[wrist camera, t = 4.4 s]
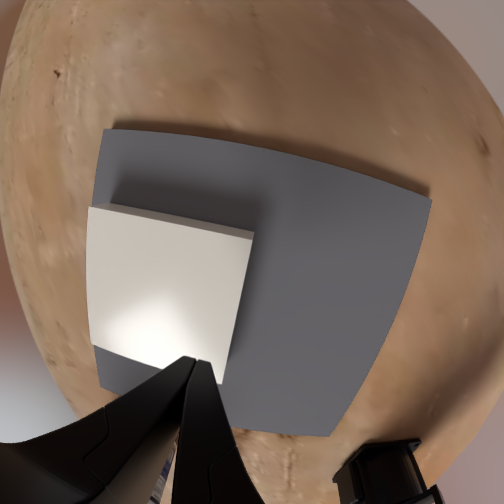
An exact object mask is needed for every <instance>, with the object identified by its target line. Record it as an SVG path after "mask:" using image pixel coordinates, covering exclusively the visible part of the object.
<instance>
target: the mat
mask: <svg viewBox="0 0 504 504" xmlns="http://www.w3.org/2000/svg"><path fill="white" fill-rule="evenodd" d="M104 203H112V204H118V205H123V206H129V207H134V208H139V209H144V210H149V211H155V212H160V213H165V214H170V215H175V216H180V217H185V218H190V219H195V220H200V221H204V222H209V223H214V224H219V225H224V226H228V227H233V228H238V229H243V230H247V231H252V232H254V237H253V241H252V246H251V250H250V255H249V260H248V264H247V269H246V274H245V278H244V283H243V287H242V292H241V297H240V301H239V306H238V311H237V315H236V320H235V325H234V329H233V334H232V339H231V343H230V348H229V352H228V357H227V362H226V366H225V371H224V376H223V380H222V384H218V383H217V385H218V389H219V392H220V395H221V399H222V402H223V405H224V408H225V412H226V415H227V418H228V421H229V424H230V426H231V427H236V428H242V429H248V430H255V431H262V432H270V433H279V434H290V435H303V436H327V437H329V436H330V435H331V433H332V432H333V430H334V429H335V428H336V426H337V425H338V423H339V421H340V420H341V418H342V417H343V415H344V414H345V412H346V411H347V409H348V407H349V406H350V404H351V402H352V401H353V399H354V397H355V396H356V394H357V392H358V391H359V389H360V387H361V385H362V384H363V382H364V380H365V378H366V376H367V375H368V373H369V371H370V369H371V367H372V365H373V363H374V361H375V359H376V357H377V355H378V353H379V351H380V349H381V347H382V345H383V343H384V341H385V339H386V336H387V334H388V332H389V330H390V328H391V325H392V323H393V321H394V318H395V316H396V314H397V311H398V309H399V306H400V304H401V301H402V299H403V296H404V294H405V291H406V288H407V285H408V283H409V280H410V277H411V274H412V271H413V268H414V265H415V262H416V259H417V256H418V253H419V249H420V246H421V243H422V239H423V236H424V232H425V228H426V224H427V220H428V216H429V212H430V208H431V204H432V199H430V198H427V197H425V196H422V195H420V194H417V193H415V192H412V191H409V190H407V189H404V188H401V187H399V186H396V185H393V184H390V183H388V182H385V181H382V180H379V179H376V178H373V177H370V176H367V175H364V174H361V173H358V172H354V171H351V170H348V169H345V168H341V167H338V166H334V165H331V164H327V163H324V162H320V161H316V160H312V159H309V158H305V157H301V156H297V155H293V154H288V153H284V152H280V151H275V150H271V149H266V148H261V147H256V146H251V145H246V144H240V143H235V142H229V141H223V140H217V139H210V138H204V137H196V136H189V135H181V134H172V133H162V132H151V131H138V130H122V129H104V131H103V136H102V141H101V146H100V151H99V157H98V163H97V169H96V176H95V184H94V192H93V201H92V206H94V205H99V204H104ZM94 349H95V357H96V364H97V370H98V376H99V381H100V387H102V388H104V389H107V390H109V391H111V392H114V393H116V394H119V395H123V394H125V393H126V392H128V391H129V390H131V389H133V388H134V387H136V386H137V385H139V384H140V383H142V382H144V381H145V380H147V379H148V378H150V377H151V376H153V375H154V374H156V373H157V372H159V371H161V370H162V369H160V368H157V367H154V366H151V365H148V364H145V363H142V362H139V361H136V360H133V359H130V358H127V357H124V356H122V355H119V354H116V353H114V352H111V351H108V350H106V349H103V348H101V347H98V346H96V345H94Z"/></svg>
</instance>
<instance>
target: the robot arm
mask: <svg viewBox="0 0 504 504" xmlns="http://www.w3.org/2000/svg"><path fill="white" fill-rule="evenodd" d="M178 433H179V438H178V445H177V453H176V462H175V470H174V479H173V489H172V499H171V504H265V503H264V501H263V500H262V498H261V496H260V495H259V493H258V491H257V490H256V488H255V486H254V484H253V482H252V481H251V479H250V477H249V475H248V473H247V471H246V468H245V466H244V463H243V461H242V459H241V456H240V453H239V450H238V448H237V447H236V442H235V439H234V436H233V433H232V430H231V427H230V424H229V421H228V418H227V415H226V412H225V408H224V405H223V402H222V399H221V395H220V392H219V389H218V385H217V382H216V378H215V375H214V371H213V368H212V364H211V362H209V361H205V360H201V359H198V360H196V358H193V357H189V356H185V355H184V356H182V357H180V358H179V359H177V360H176V361H174V362H173V363H171V364H170V365H168V366H167V367H165V368H164V369H162V370H161V371H159V372H157V373H156V374H154V375H153V376H151V377H150V378H148V379H147V380H145V381H144V382H142V383H140V384H139V385H137V386H136V387H134V388H133V389H131V390H129V391H128V392H126V393H125V394H123V395H121V396H120V397H118V398H117V399H115V400H113V401H112V402H110V403H108V404H107V405H105V406H104V407H102V408H100V409H98V410H97V411H95V412H93V413H91V414H90V415H88V416H86V417H84V418H82V419H80V420H78V421H76V422H74V423H72V424H70V425H67V426H65V427H62V428H60V429H57V430H55V431H52V432H49V433H47V434H44V435H41V436H38V437H36V438H33V439H30V440H27V441H23V442H18V443H1V442H0V504H148V501H149V499H150V497H151V494H152V492H153V490H154V488H155V485H156V483H157V481H158V479H159V476H160V474H161V472H162V469H163V467H164V465H165V463H166V460H167V458H168V456H169V454H170V451H171V449H172V447H173V444H174V442H175V440H176V438H177V435H178ZM421 443H422V442H421V440H420V439H412V440H405V441H398V442H389V443H379V444H367V445H364V446H362V447H361V448H360V449H359V450H358V451H357V452H356V453H355V455H354V456H353V457H352V458H351V459H350V460H349V461H348V462H347V463H346V465H345V466H344V467H343V468H342V469H341V470H340V471H339V472H338V473H337V474H336V475H335V476H334V477H333V478H332V480H333V483H337V485H338V491H339V497H340V503H341V504H432V503H434V502H435V504H445V502H444V499H443V496H442V494H441V492H440V490H439V488H438V487H437V485H436V484H435V485H433V486H432V487H430V489H428V490H427V487H426V485H425V482H424V480H423V477H422V474H421V472H420V469H419V467H418V465H417V462H416V460H415V457H414V455H413V452H414V451H415V450H416V449H417V448H418V447H419V445H420V444H421Z"/></svg>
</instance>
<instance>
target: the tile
mask: <svg viewBox="0 0 504 504" xmlns="http://www.w3.org/2000/svg"><path fill="white" fill-rule="evenodd" d="M253 237H254V232H252V231H247V230H243V229H238V228H233V227H228V226H224V225H219V224H214V223H209V222H204V221H200V220H195V219H190V218H185V217H180V216H175V215H170V214H165V213H160V212H155V211H149V210H144V209H139V208H134V207H129V206H123V205H118V204H112V203H104V204H99V205H94V206H89V210H88V224H87V246H86V282H87V304H88V318H89V328H90V338H91V344H93V345H96V346H98V347H101V348H103V349H106V350H108V351H111V352H114V353H116V354H119V355H122V356H124V357H127V358H130V359H133V360H136V361H139V362H142V363H145V364H148V365H151V366H154V367H157V368H160V369H164V368H165V367H167V366H168V365H170V364H171V363H173V362H174V361H176V360H177V359H179V358H180V357H182V356H184V355H185V356H189V357H193V358H196V360H198V359H201V360H205V361H209V362H211V364H212V368H213V371H214V375H215V378H216V382H217V383H218V384H222V380H223V376H224V371H225V366H226V362H227V357H228V352H229V348H230V343H231V339H232V334H233V329H234V325H235V320H236V315H237V311H238V306H239V301H240V297H241V292H242V287H243V283H244V278H245V274H246V269H247V264H248V260H249V255H250V250H251V246H252V241H253Z"/></svg>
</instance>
